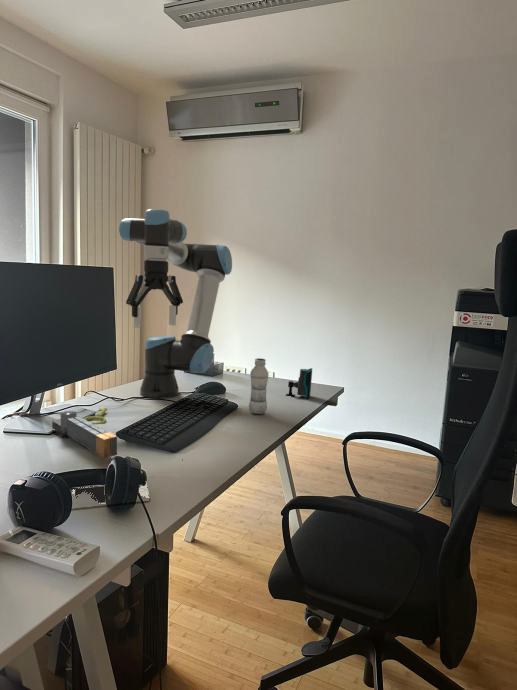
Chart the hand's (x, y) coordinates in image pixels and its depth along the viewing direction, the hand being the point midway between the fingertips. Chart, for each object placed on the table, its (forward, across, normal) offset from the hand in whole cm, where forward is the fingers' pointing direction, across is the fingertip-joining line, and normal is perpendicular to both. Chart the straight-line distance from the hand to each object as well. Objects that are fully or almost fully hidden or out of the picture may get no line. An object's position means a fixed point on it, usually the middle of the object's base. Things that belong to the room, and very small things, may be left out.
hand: (155, 326), depth 154 cm
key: (+32, -14, +12) cm, 37 cm away
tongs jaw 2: (+30, -27, -11) cm, 42 cm away
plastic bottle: (+32, +33, -17) cm, 49 cm away
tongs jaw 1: (+30, -29, -10) cm, 43 cm away
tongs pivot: (+32, -28, +6) cm, 43 cm away
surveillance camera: (+32, +63, -12) cm, 72 cm away
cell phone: (+32, -38, -37) cm, 62 cm away
